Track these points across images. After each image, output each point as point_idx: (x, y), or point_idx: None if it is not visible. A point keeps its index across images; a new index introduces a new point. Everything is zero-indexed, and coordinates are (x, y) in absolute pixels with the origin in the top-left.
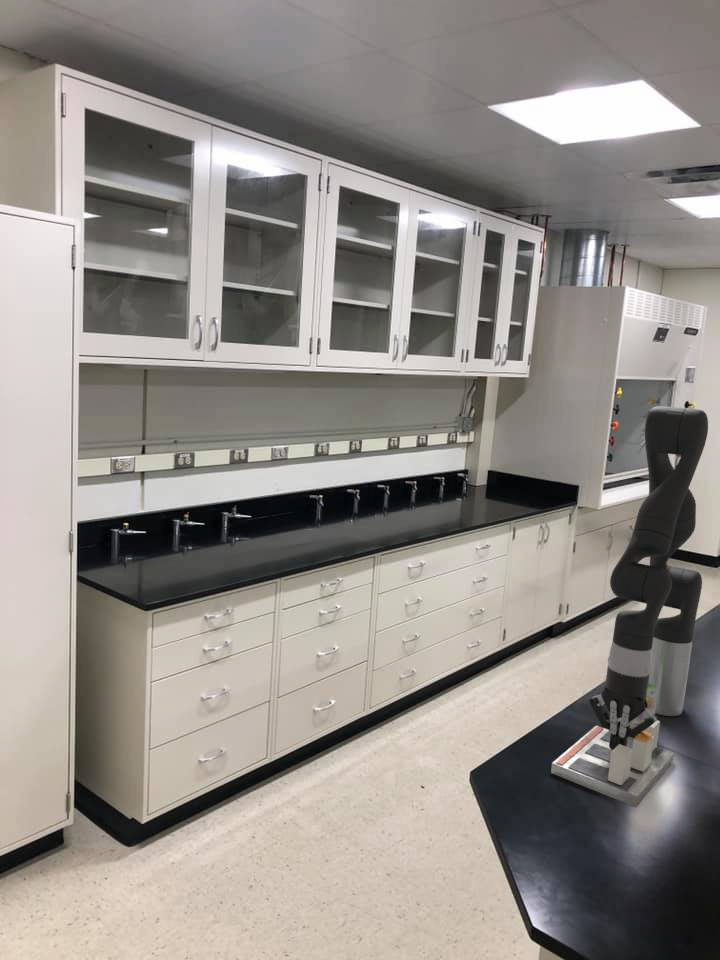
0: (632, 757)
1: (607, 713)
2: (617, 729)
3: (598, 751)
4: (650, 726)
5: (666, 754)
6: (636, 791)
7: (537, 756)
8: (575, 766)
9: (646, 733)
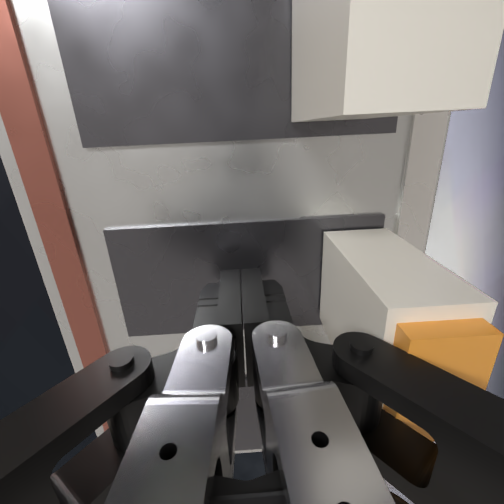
0: None
1: (69, 442)
2: (233, 403)
3: (162, 291)
4: (450, 105)
5: None
6: None
7: (21, 383)
8: None
9: (455, 357)
